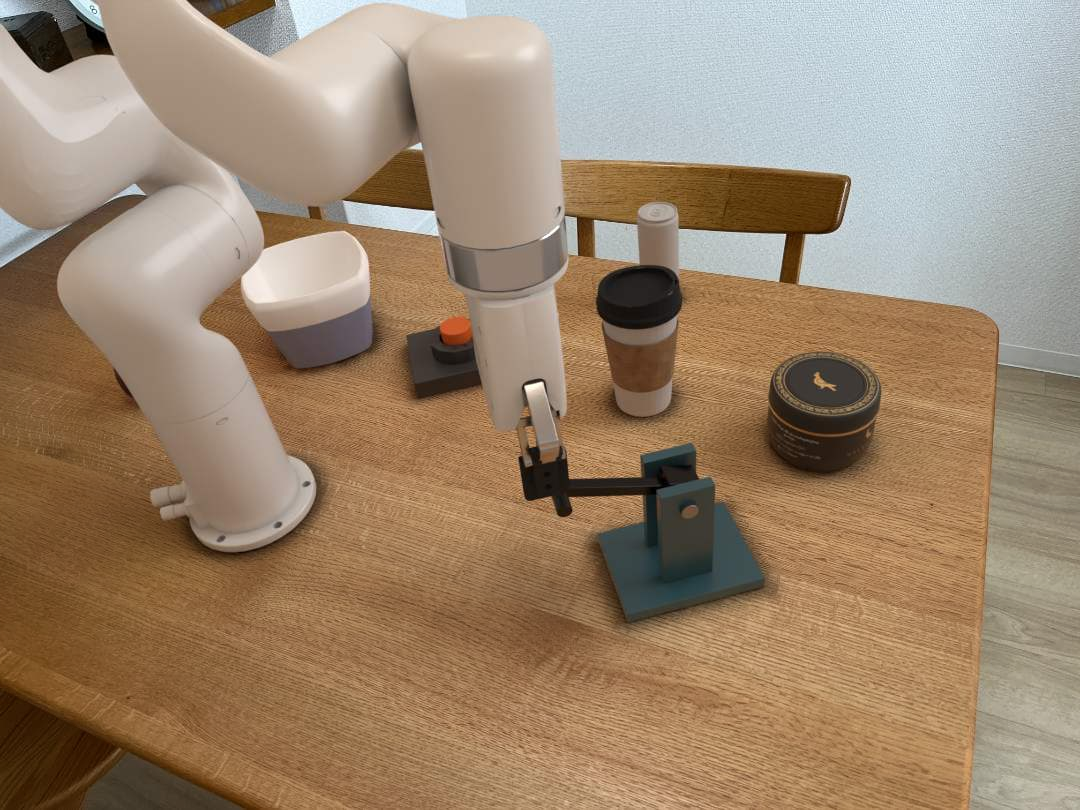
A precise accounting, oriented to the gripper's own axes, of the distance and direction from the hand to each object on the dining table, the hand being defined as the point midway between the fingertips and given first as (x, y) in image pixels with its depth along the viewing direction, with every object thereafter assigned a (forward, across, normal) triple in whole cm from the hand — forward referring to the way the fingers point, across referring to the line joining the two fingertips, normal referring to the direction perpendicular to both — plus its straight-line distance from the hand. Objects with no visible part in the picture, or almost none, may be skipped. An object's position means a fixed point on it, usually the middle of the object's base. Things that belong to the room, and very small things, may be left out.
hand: (532, 447), depth 60 cm
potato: (+19, -42, -40) cm, 61 cm away
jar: (+16, -9, +29) cm, 35 cm away
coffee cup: (+17, -21, +15) cm, 31 cm away
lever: (+6, +1, +6) cm, 9 cm away
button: (+14, -35, -3) cm, 37 cm away
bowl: (+18, -46, -19) cm, 52 cm away
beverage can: (+17, -38, +23) cm, 48 cm away
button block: (+17, -35, -3) cm, 39 cm away
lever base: (+16, +1, +11) cm, 20 cm away
